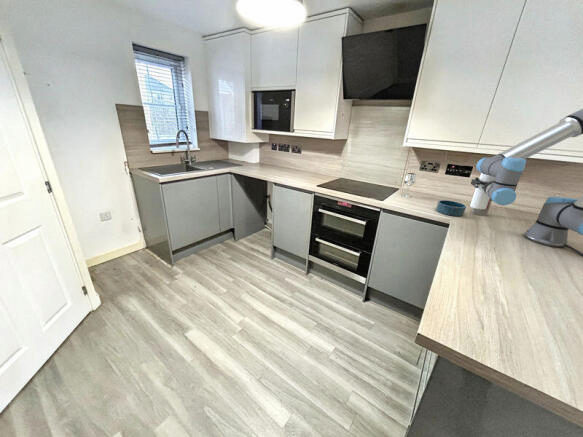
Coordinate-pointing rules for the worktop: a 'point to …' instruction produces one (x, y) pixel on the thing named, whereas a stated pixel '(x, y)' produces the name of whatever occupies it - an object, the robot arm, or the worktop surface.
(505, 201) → the robot arm
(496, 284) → the worktop surface
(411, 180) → the wineglass
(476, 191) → the cylindrical container
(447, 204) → the bowl
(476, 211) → the thermos bottle
